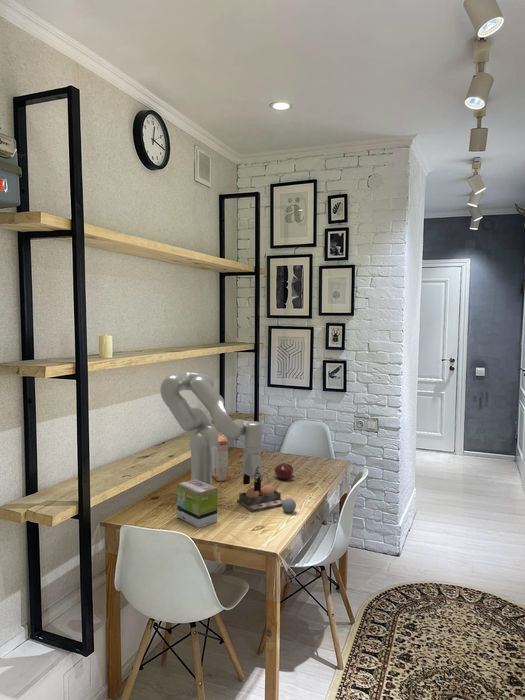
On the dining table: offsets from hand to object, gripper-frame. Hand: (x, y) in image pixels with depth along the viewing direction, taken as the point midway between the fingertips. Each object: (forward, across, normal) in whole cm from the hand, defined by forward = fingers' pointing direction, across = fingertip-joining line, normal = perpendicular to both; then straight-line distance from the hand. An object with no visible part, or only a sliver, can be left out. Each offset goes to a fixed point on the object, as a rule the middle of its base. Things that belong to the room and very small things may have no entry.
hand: (251, 487), depth 236 cm
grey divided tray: (+8, +2, +4) cm, 9 cm away
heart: (+8, -25, +33) cm, 42 cm away
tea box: (+8, +5, -29) cm, 30 cm away
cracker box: (+8, -42, +4) cm, 43 cm away
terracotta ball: (+3, 0, 0) cm, 3 cm away
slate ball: (+4, +16, +9) cm, 19 cm away
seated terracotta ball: (+3, 0, +8) cm, 9 cm away
